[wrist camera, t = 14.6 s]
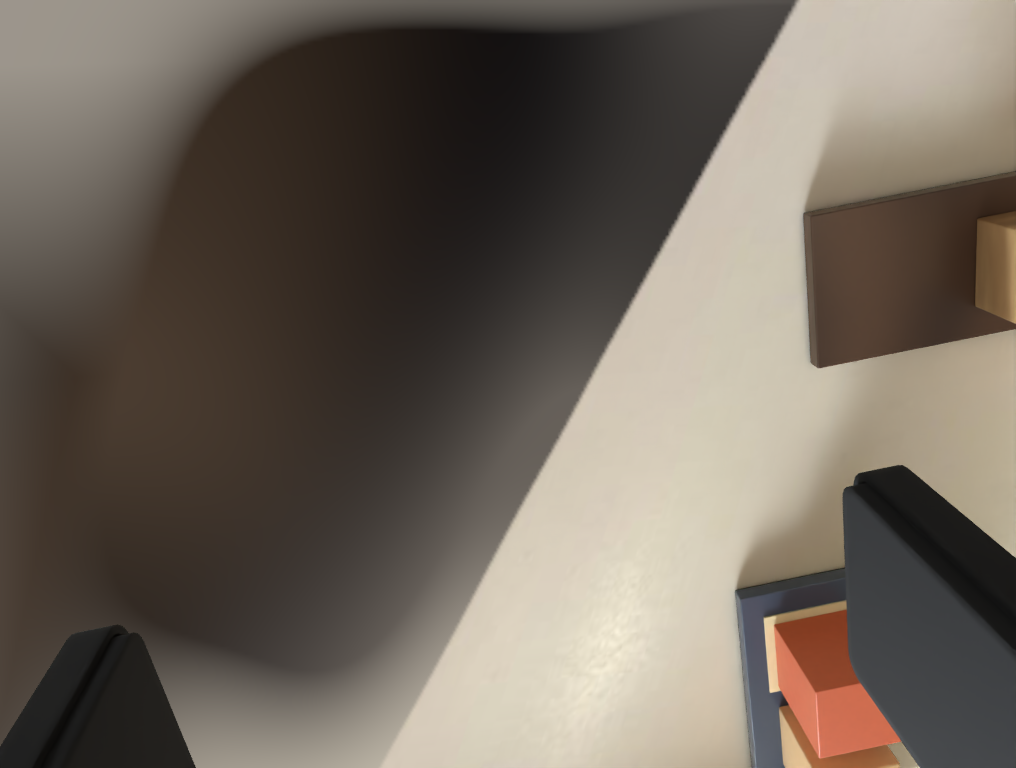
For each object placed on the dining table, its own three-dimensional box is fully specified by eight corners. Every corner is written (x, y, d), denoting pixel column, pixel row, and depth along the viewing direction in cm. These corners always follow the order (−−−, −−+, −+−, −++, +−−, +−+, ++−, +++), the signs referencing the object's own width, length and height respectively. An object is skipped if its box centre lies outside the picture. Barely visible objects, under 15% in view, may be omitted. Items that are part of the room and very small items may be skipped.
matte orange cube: (773, 624, 43) (815, 692, 38) (850, 608, 43) (901, 674, 38) (778, 686, 44) (819, 759, 40) (852, 670, 44) (902, 741, 40)
